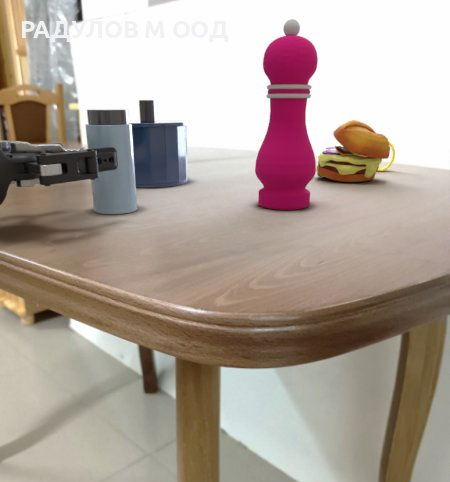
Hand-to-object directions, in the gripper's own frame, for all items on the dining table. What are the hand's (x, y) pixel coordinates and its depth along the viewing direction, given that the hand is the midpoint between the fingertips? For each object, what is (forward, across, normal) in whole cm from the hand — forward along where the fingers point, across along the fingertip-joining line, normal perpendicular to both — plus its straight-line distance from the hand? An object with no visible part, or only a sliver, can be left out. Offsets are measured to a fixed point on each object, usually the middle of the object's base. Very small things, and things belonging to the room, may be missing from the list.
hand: (87, 155), depth 52 cm
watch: (+56, -13, +7) cm, 57 cm away
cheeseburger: (+42, -13, +7) cm, 45 cm away
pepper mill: (+17, -15, +7) cm, 24 cm away
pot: (+22, +11, +6) cm, 25 cm away
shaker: (+3, 0, +6) cm, 7 cm away
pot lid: (+22, +11, -2) cm, 24 cm away
